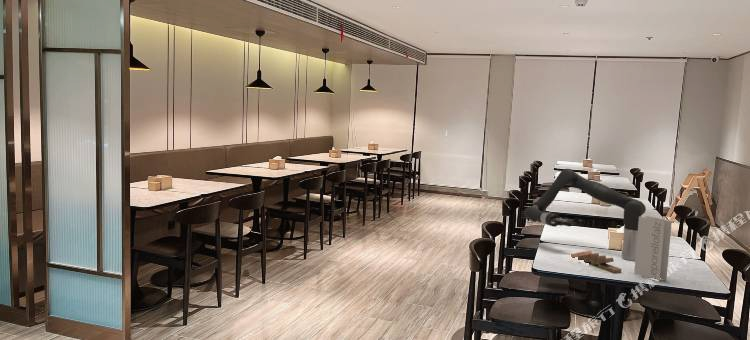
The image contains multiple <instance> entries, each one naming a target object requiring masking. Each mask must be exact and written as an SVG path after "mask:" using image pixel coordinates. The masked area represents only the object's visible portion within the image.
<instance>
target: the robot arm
mask: <svg viewBox="0 0 750 340" xmlns="http://www.w3.org/2000/svg"><path fill="white" fill-rule="evenodd" d="M566 186H569V187H573V188H575V189H578V190H580V191H582V192H583V193H585V194H586V195H588V196H590V197H591V198H593V199H596V200H597V201H600V202H603V203H605V204H609V205H613V206H617V207H618V208H621V209H623V220H622V221H623V225H624V226H623V236H622V237H623V238H622V247H621V248H622V249H621V250H622V251H621V258H622V259H623V260H627V261H634V262H635V258H636V246H637V235H638V223H639V217H642V215H644V214H645V213H646V210H647V209H646V208H647V207H646V205H645V204H644V203H643V201H640V200H638V199H635V198H633V197H630V196H628V195H625V194H622V193H620V192H618V191H617V190H615V189H613V188H611V187H609V186H607V185H605V184H602V183H600V182H597V181H595V180H590V179H588V178H585V177H583V176H582V175H580V174H579V173H577V172H576V171H575V170H573V169H571V168H564V169H562V170H561V171H560V172H559V174H558V175H557V177H556V178H555V180H554V181H553V182H552V183H551V184H550V186H549V188H548V189H547V190H546V191H545V192H544V193H543V194H542V195H541V196H540V197H539V198H538V199H537V201H535V204H536V206H537V207H533V206H529V207H526V208H525V209H524V211H523V214H524V216H525V217H526V218H527V219H529V220H530V221H532V222H534V223H535V222H537V223H542V224H544V225H545V226H549V227H557V226H561V227H562V226H566V227H572V225H573V224H572V222H570V219H569V218H566V219H565V218H562V217H560V215H559V214H557V213H552V212H550V211H549V212H548V211H546V209H548V207H549V206H550V205H551V204H552V203H553V202H554V200H555V199H556V198H557V195H558V194H559V192H560V191H561V190H562V189H563V188H564V187H566Z"/></svg>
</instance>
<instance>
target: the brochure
mask: <svg viewBox="0 0 750 340" xmlns="http://www.w3.org/2000/svg"><path fill="white" fill-rule="evenodd" d="M672 222H673V221H672V220H667V219H663V218H658V217H652V216H648V215H646V216H645V217H644V216H641V217H639V223H638V235H637V246H636V258H635V261H634V272H633V274H635V275H639V276H640V278H641V277H642V278H645V279H647V278H654V279H657V280H659V281H661V280H660V278H661V279H663V280H662V281H664V280H665V281H664V282H667V278H668V269H669V268H668V267H669V255H670V245H671V236H672V235H671V234H672V233H671V232H672V225H673V224H672Z"/></svg>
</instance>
